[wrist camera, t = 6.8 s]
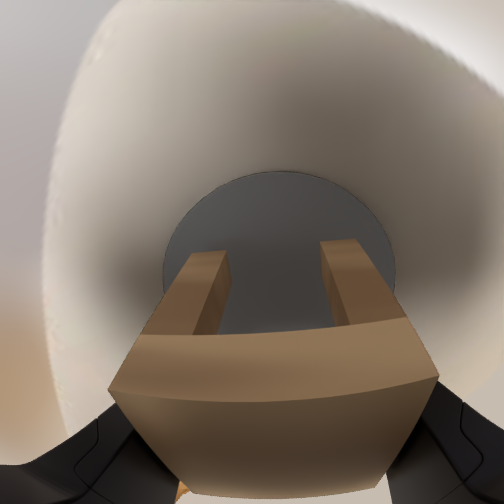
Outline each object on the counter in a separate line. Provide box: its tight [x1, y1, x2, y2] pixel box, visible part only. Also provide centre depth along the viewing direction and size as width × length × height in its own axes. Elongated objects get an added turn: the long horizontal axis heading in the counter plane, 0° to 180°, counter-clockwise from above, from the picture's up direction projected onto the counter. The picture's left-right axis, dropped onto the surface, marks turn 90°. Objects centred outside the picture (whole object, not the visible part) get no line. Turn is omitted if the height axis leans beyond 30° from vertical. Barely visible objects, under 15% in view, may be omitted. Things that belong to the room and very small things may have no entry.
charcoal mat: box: [163, 172, 395, 335], centre depth 11 cm, size 9×9×1 cm
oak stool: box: [108, 239, 439, 499], centre depth 7 cm, size 5×5×6 cm
